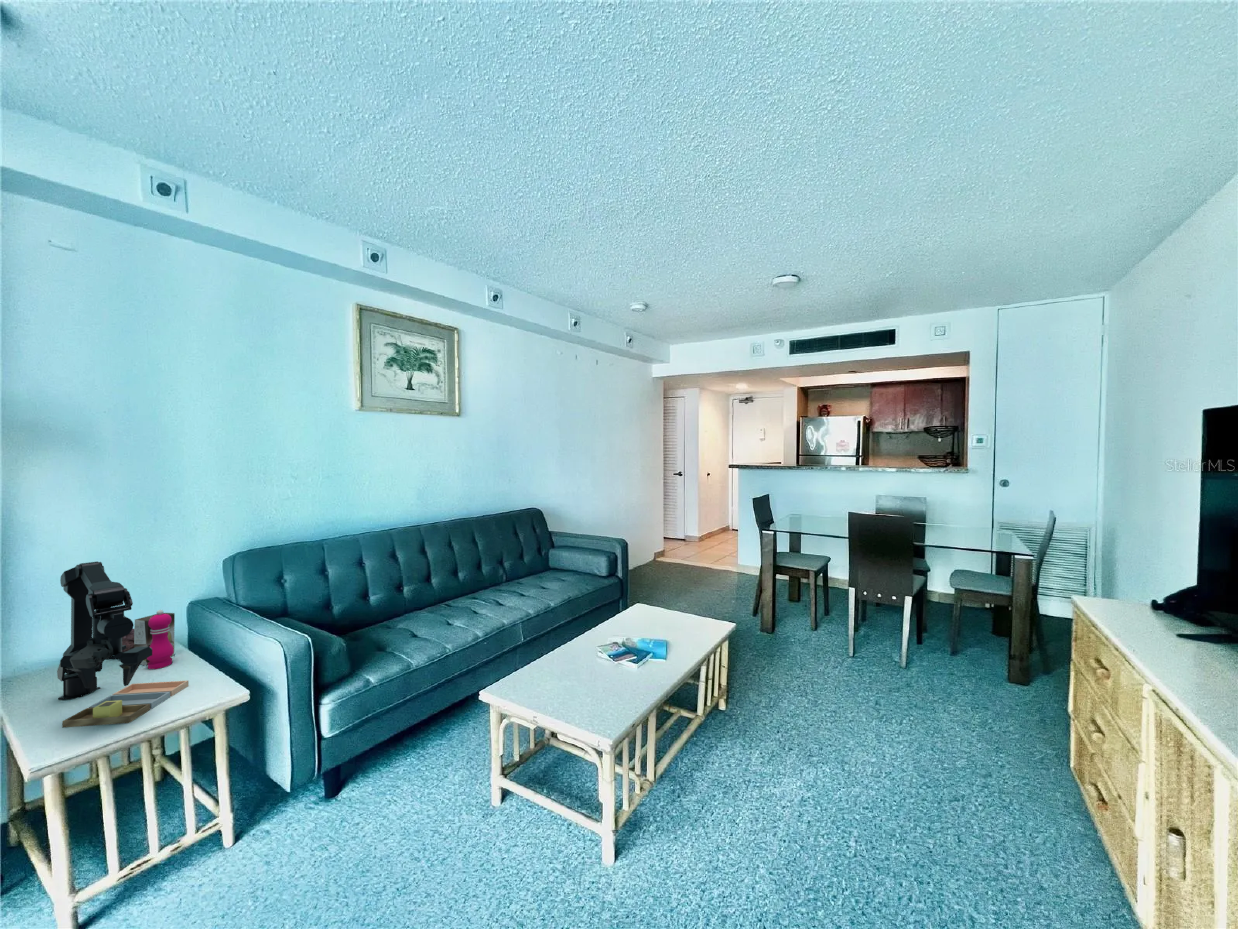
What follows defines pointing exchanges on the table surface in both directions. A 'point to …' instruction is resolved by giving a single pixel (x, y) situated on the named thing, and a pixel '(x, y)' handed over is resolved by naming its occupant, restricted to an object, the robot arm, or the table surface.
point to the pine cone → (128, 641)
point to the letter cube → (108, 709)
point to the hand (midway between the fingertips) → (107, 686)
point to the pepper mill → (160, 641)
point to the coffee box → (143, 633)
